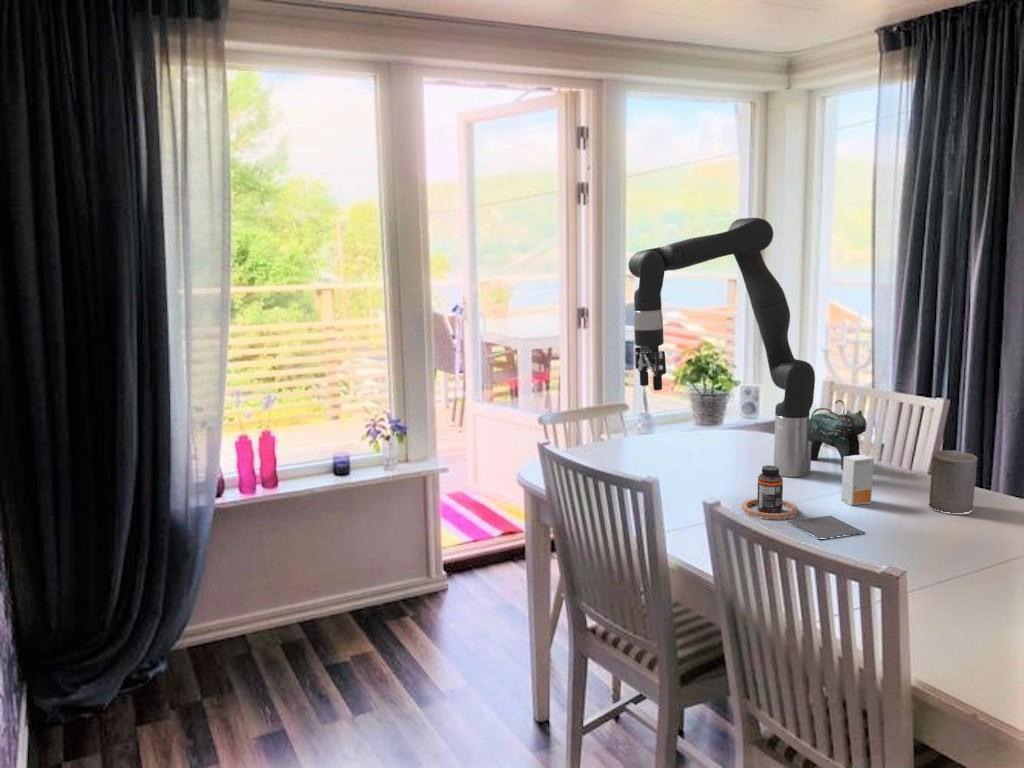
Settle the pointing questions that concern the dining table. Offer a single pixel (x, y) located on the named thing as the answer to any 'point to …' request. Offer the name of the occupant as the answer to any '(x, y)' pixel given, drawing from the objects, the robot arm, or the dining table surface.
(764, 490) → the supplement bottle
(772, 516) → the wooden ring
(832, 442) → the ceramic cat
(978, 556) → the dining table surface
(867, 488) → the skincare box
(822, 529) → the mat
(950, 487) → the pillar candle
